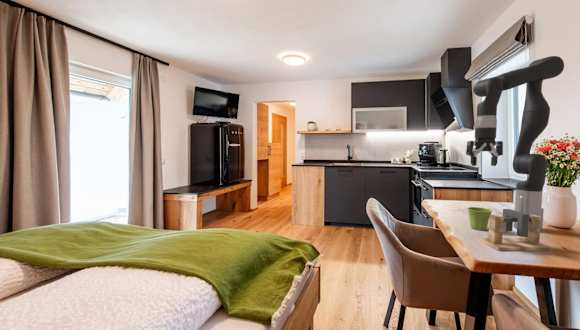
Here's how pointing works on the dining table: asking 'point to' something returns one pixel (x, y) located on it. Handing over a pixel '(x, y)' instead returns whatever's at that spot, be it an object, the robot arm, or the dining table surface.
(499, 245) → the bar rack
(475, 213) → the plant pot
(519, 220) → the rubber u
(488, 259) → the dining table surface
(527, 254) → the dining table surface
